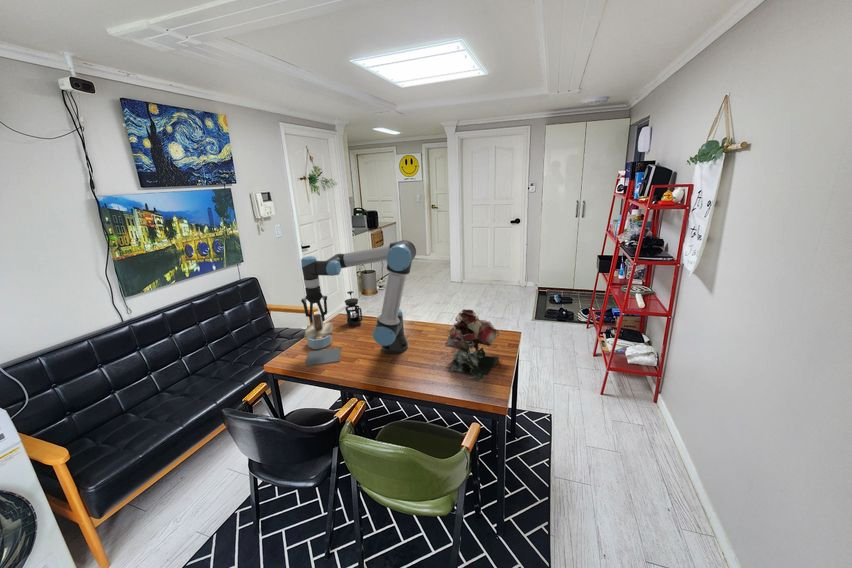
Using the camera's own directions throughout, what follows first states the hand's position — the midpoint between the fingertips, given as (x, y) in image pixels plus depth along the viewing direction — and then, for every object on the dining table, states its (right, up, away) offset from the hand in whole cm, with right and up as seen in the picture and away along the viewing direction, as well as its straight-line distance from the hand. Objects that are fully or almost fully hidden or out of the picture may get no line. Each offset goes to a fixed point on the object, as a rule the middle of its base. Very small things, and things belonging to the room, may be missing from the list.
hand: (318, 327), depth 193 cm
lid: (0, -2, +1) cm, 3 cm away
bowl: (-5, -13, +21) cm, 25 cm away
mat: (+1, -17, +6) cm, 18 cm away
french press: (+10, -4, +47) cm, 48 cm away
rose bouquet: (+81, -18, -8) cm, 83 cm away
